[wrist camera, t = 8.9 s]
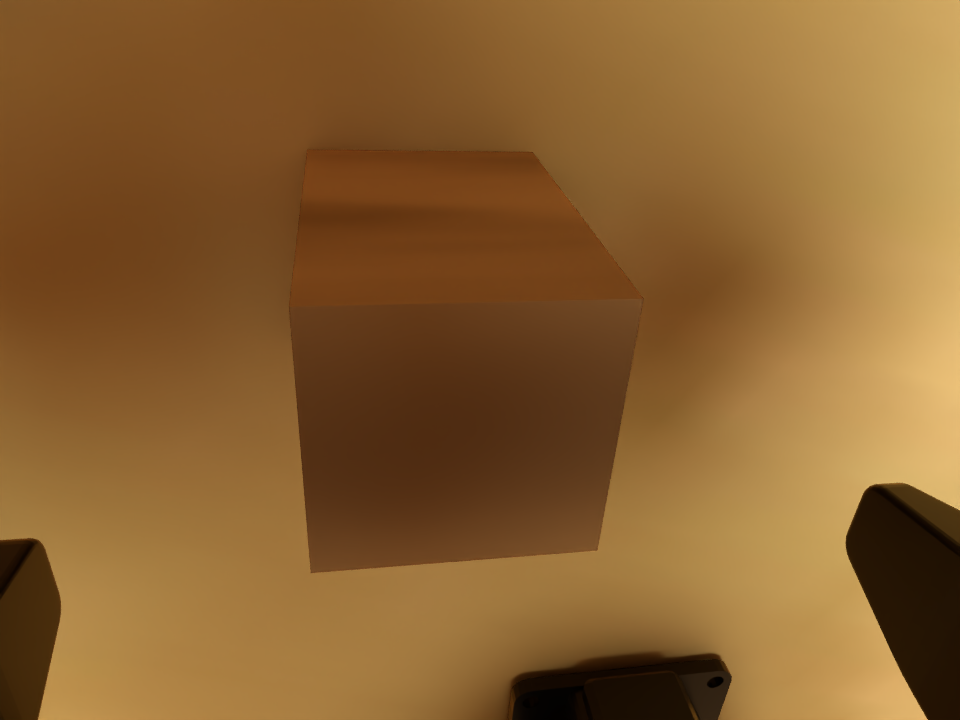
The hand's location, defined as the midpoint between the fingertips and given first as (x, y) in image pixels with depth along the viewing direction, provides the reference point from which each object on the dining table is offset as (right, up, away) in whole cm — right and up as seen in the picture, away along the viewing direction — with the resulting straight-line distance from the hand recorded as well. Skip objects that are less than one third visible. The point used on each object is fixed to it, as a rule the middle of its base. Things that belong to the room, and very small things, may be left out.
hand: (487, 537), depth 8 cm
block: (-1, +4, +6) cm, 8 cm away
